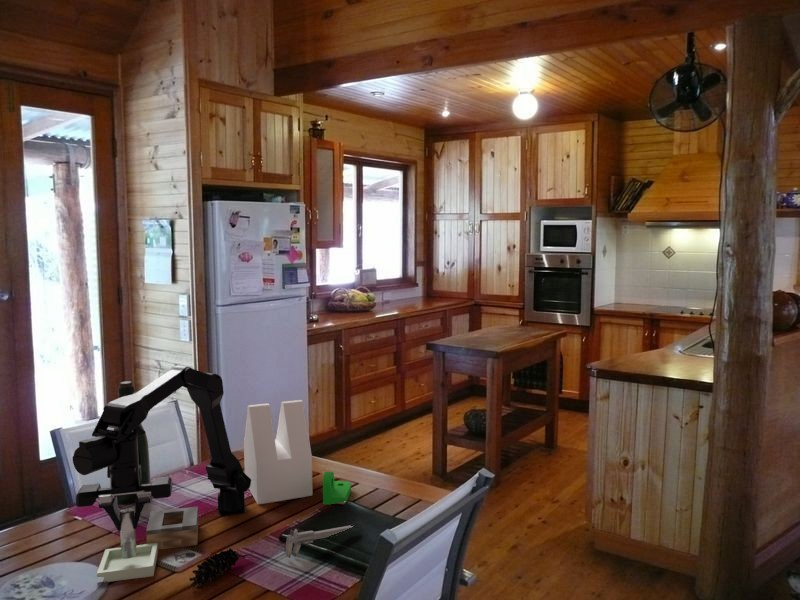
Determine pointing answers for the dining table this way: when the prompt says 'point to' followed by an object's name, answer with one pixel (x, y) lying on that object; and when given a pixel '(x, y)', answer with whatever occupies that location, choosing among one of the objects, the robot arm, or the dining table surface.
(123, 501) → the dark green wine bottle
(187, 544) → the block
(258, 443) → the white notched block
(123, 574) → the tray
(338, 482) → the mechanical part
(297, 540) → the caliper
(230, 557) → the pine cone
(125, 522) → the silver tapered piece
